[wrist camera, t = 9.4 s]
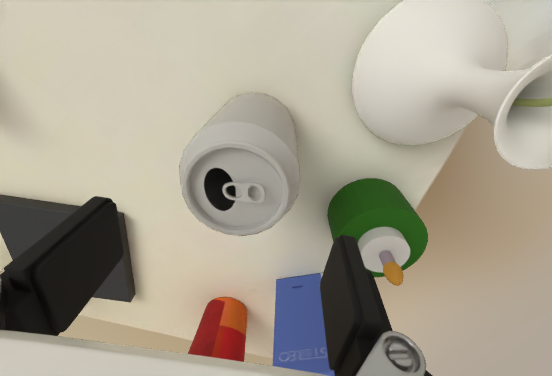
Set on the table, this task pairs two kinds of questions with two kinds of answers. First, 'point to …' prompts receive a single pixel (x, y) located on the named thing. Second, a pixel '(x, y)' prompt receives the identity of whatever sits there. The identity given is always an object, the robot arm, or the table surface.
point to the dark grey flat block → (46, 216)
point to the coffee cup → (222, 330)
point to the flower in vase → (452, 80)
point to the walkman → (300, 326)
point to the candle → (379, 226)
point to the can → (242, 166)
